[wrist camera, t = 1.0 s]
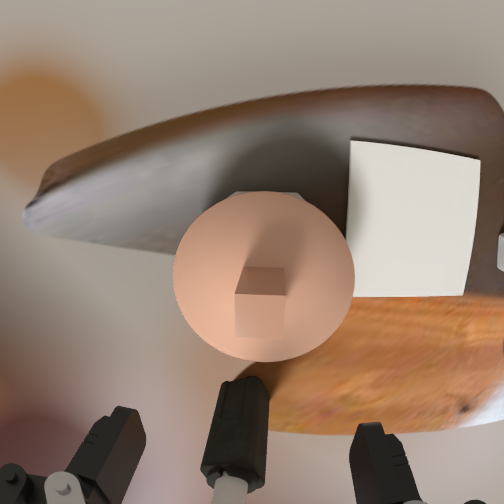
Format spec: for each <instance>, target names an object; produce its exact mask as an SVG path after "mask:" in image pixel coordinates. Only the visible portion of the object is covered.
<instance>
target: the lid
mask: <svg viewBox="0 0 504 504" xmlns="http://www.w3.org/2000/svg"><path fill="white" fill-rule="evenodd" d="M173 285H174V291H175V295H176V299H177V302H178V305H179V307H180V310H181V312H182V314H183V316H184V317H185V319H186V321H187V322H188V323H189V325H190V326H191V327H192V329H193V330H194V331H195V332H196V333H197V334H198V335H199V336H200V337H201V338H202V339H203V340H205V341H206V342H207V343H208V344H210V345H211V346H213V347H214V348H216V349H217V350H219V351H221V352H223V353H226V354H228V355H230V356H233V357H236V358H239V359H243V360H248V361H255V362H275V361H283V360H287V359H291V358H295V357H297V356H300V355H303V354H305V353H307V352H309V351H311V350H313V349H314V348H316V347H317V346H319V345H320V344H322V343H323V342H324V341H325V340H326V339H328V338H329V337H330V336H331V335H332V334H333V333H334V331H335V330H336V329H337V328H338V327H339V325H340V324H341V322H342V321H343V319H344V318H345V316H346V314H347V312H348V310H349V307H350V304H351V301H352V298H353V293H354V287H355V270H354V263H353V259H352V254H351V252H350V249H349V247H348V244H347V242H346V240H345V238H344V237H343V235H342V233H341V232H340V230H339V229H338V228H337V227H336V225H335V224H334V223H333V222H332V221H331V220H330V219H329V218H328V217H327V216H326V215H325V214H324V213H323V212H322V211H320V210H319V209H318V208H316V207H315V206H314V205H312V204H310V203H308V202H306V201H304V200H303V199H300V198H298V197H295V196H292V195H289V194H285V193H280V192H272V191H252V192H247V193H242V194H238V195H235V196H232V197H229V198H227V199H225V200H222V201H220V202H218V203H217V204H215V205H214V206H212V207H211V208H209V209H208V210H206V211H205V212H204V213H203V214H201V215H200V216H199V217H198V218H197V219H196V220H195V221H194V222H193V224H192V225H191V226H190V227H189V228H188V230H187V231H186V233H185V235H184V236H183V238H182V240H181V242H180V245H179V247H178V249H177V253H176V256H175V260H174V268H173Z"/></svg>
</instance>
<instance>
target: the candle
mask: <svg viewBox="0 0 504 504" xmlns="http://www.w3.org/2000/svg"><path fill="white" fill-rule="evenodd" d="M268 418H269V397H268V394H267V392H266V390H265V388H264V385H263V383H262V381H261V380H260V379H259V378H257V377H254V376H249V377H248V378H245V379H240V380H236V381H230V382H229V381H225V382H223V383H222V385H221V388H220V392H219V396H218V400H217V404H216V408H215V412H214V416H213V420H212V424H211V428H210V432H209V436H208V440H207V444H206V448H205V452H204V456H203V460H202V464H201V468H200V470H201V472H202V473H203V474H204V476H205V477H206V478H207V483H208V485H209V486H211V487H212V488H213V489H214V492H213V497H212V502H211V504H246V499H247V494H248V493H251V492H253V491H254V490H255V489H258V488H261V487H263V486H264V484H265V471H266V454H267V436H268Z"/></svg>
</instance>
